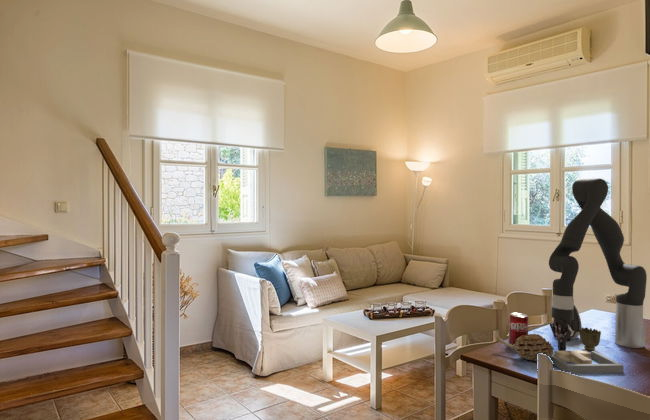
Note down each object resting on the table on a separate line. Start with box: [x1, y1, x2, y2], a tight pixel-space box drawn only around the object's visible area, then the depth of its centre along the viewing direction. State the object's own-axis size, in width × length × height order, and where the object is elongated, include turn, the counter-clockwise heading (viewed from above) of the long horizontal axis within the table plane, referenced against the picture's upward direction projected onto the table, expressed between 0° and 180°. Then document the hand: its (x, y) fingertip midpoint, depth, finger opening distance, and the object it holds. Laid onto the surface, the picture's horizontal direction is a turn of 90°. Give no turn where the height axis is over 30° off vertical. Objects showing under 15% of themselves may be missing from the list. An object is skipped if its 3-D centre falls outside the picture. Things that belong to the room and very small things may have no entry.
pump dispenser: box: [571, 304, 583, 340], centre depth 187 cm, size 10×10×15 cm
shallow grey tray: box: [550, 350, 625, 374], centre depth 154 cm, size 20×14×2 cm
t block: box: [553, 350, 593, 364], centre depth 155 cm, size 12×10×3 cm
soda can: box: [508, 312, 529, 345], centre depth 177 cm, size 7×7×12 cm
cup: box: [579, 326, 602, 352], centre depth 170 cm, size 8×7×8 cm
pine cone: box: [495, 333, 555, 362], centre depth 160 cm, size 22×10×10 cm, turn 45°
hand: (561, 350), depth 166 cm, fingers closed
